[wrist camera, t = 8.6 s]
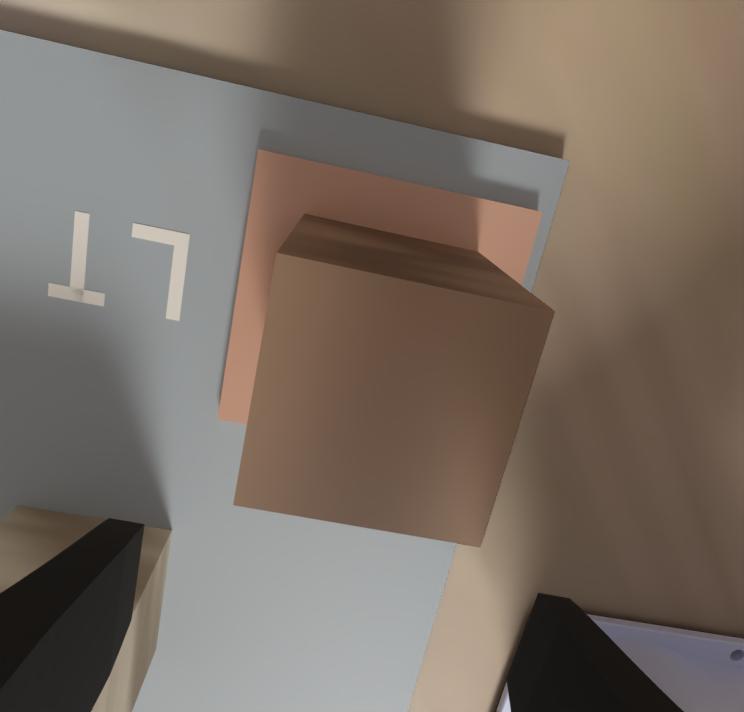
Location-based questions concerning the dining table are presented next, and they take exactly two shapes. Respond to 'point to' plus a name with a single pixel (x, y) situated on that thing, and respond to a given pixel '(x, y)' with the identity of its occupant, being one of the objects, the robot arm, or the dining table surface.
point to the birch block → (59, 530)
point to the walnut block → (388, 383)
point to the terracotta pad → (359, 207)
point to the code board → (199, 366)
